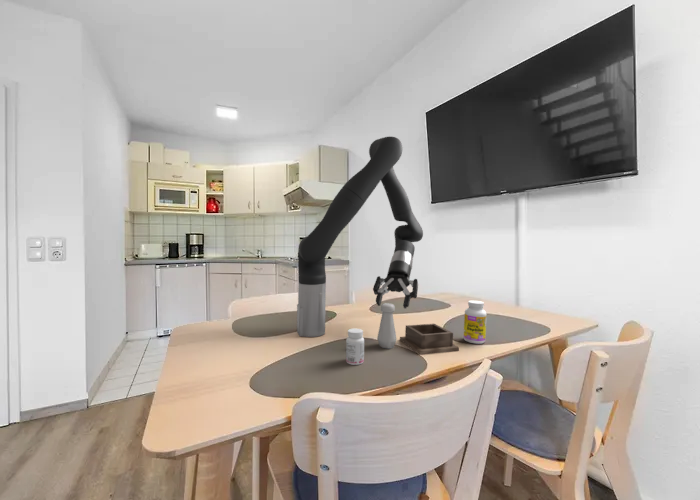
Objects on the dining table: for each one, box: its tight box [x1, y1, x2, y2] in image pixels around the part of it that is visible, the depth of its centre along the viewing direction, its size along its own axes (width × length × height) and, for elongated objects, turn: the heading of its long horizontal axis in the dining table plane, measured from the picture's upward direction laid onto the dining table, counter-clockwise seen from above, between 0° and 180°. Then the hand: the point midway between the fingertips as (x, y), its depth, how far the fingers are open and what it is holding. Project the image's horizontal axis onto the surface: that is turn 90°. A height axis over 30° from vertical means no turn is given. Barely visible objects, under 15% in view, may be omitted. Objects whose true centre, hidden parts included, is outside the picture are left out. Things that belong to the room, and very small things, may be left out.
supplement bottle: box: [463, 300, 488, 345], centre depth 103 cm, size 7×7×13 cm
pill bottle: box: [345, 327, 365, 366], centre depth 84 cm, size 5×5×8 cm
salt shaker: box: [376, 302, 397, 350], centre depth 96 cm, size 6×6×13 cm
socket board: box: [399, 323, 460, 355], centre depth 98 cm, size 13×13×5 cm
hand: (391, 305), depth 100 cm, fingers open, 8 cm apart
